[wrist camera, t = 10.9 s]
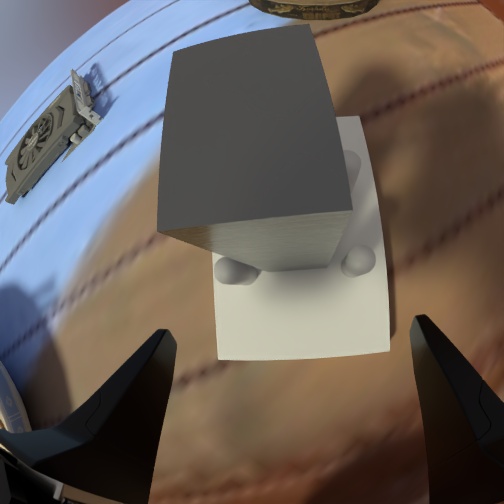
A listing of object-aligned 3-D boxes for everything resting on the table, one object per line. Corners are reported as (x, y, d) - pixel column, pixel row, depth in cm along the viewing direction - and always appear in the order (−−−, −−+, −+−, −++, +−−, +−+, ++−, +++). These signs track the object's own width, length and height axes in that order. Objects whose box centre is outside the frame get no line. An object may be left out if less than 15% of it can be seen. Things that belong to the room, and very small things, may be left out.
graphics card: (76, 61, 25) (85, 106, 22) (92, 75, 28) (107, 122, 25) (1, 147, 27) (0, 209, 24) (19, 155, 31) (22, 215, 28)
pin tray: (385, 347, 17) (408, 366, 12) (223, 355, 19) (193, 375, 14) (357, 124, 19) (364, 81, 14) (216, 141, 21) (189, 105, 16)
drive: (328, 267, 17) (356, 210, 5) (268, 272, 18) (157, 231, 5) (320, 189, 18) (311, 23, 5) (263, 195, 19) (173, 51, 6)
